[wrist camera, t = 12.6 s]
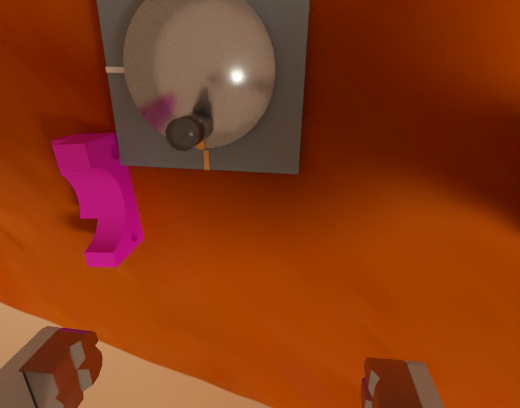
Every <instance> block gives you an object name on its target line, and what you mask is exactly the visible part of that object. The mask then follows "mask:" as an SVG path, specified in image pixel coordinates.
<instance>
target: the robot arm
mask: <svg viewBox="0 0 520 408" xmlns="http://www.w3.org/2000/svg"><path fill="white" fill-rule="evenodd" d="M97 342H98V338H97V335H96V333H95V332H92V331H85V330H77V329H69V328H59V327H50V326H47V327H45V328H43V329H41V330H40V331H39V332H38V333H37V334H36V335H35V336H34V337H33V338H32V339H31V340H30V341H29V342H28V343H27V344H26V345H25V346H24V347H23V348H22V349H21V350H20V351H19V352H18V353H16V354H15V355H14V356H13V358H11V359H10V360H9V361H8V362H7V363H6V364H5V365H4V366H3V367H2V368H1V369H0V408H77V407H78V406H79V405H80V403H81V402H82V400H83V391H84V390H86V389H87V388H89V387H90V386H92V385H93V384H94V382H95V381H96V379H97V378H98V376H99V373H100V370H101V367H102V354H101V351H100V350H99V349H98V348H97V347H96V346H95V345H96V344H97ZM364 370H365V375H366V376H365V377H364V378H362V383H361V405H362V408H444V406H443V403H442V401H441V399H440V396H439V394H438V392H437V389H436V387H435V385H434V382H433V380H432V378H431V376H430V373H429V371H428V369H427V366H426V365H425V364H424V363H423V362H415V361H402V360H393V359H381V358H369V357H367V358H366V360H365V364H364Z"/></svg>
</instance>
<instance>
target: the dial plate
mask: <svg viewBox="0 0 520 408" xmlns="http://www.w3.org/2000/svg"><path fill="white" fill-rule="evenodd" d="M96 1H97V8H98V15H99V21H100V28H101V35H102V41H103V48H104V55H105V61H106V67H105V68H106V73H107V75H108V81H109V88H110V95H111V101H112V108H113V115H114V121H115V128H116V135H117V141H118V148H119V155H120V161H121V165H126V166H145V167H165V168H184V169H204V170H223V171H243V172H262V173H282V174H298V173H299V158H300V142H301V127H302V111H303V96H304V80H305V65H306V49H307V34H308V19H309V3H310V0H245V1H246V2H247V3H248V4H249V5H250V6H251V7H252V8H253V9H254V10H255V12H256V13H257V15H258V16H259V17H260V19H261V20H262V22H263V23H264V25H265V27H266V29H267V31H268V33H269V36H270V38H271V41H272V45H273V48H274V53H275V60H276V79H275V86H274V91H273V95H272V98H271V100H270V103H269V105H268V107H267V109H266V111H265V113H264V114H263V116H262V117H261V119H260V120H259V121H258V122H257V123H256V125H255V126H254V127H253V128H252V129H251V130H250V131H249V132H247V133H246V134H245V135H244V136H242V137H241V138H239V139H237V140H236V141H234V142H231V143H229V144H227V145H223V146H220V147H214V148H205V149H204V150H200V149H197V148H195V147H193V148H191V149H190V150H188V151H178V150H176V149H174V148H173V147H171V146H170V144H169V143H168V141H167V139H166V137H165V136H164V135H162V134H161V133H160V132H158V131H157V130H156V129H155V128H154V127H153V126H151V125H150V124H149V122H148V121H147V120H146V119H145V118H144V117H143V115H142V114H141V112H140V111H139V110H138V108H137V106H136V104H135V103H134V101H133V99H132V96H131V94H130V92H129V89H128V86H127V82H126V78H125V73H124V63H123V52H124V43H125V37H126V34H127V30H128V27H129V25H130V22H131V20H132V18H133V16H134V14H135V13H136V11H137V10H138V8H139V7H140V5H141V4H142V3H143V2H144V1H145V0H96Z"/></svg>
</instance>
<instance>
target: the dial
mask: <svg viewBox="0 0 520 408" xmlns="http://www.w3.org/2000/svg"><path fill="white" fill-rule="evenodd" d="M123 63H124V73H125V78H126V82H127V86H128V89H129V92H130V94H131V96H132V99H133V101H134V103H135V104H136V106H137V108H138V110H139V111H140V112H141V114H142V115H143V117H144V118H145V119H146V120H147V121H148V122H149V124H150V125H151V126H153V127H154V128H155V129H156V130H157V131H158V132H160V133H161V134H162V135H164V136H165V137H166V139H167V141H168V143H169V144H170V146H171V147H173V148H174V149H176V150H178V151H188V150H190V149H191V148H193V147H195V148H197V149H200V150H204V149H205V148H214V147H220V146H223V145H227V144H229V143H231V142H234V141H236V140H237V139H239V138H241V137H242V136H244V135H245V134H246V133H247V132H249V131H250V130H251V129H252V128H253V127H254V126H255V125H256V123H257V122H258V121H259V120H260V119H261V117H262V116H263V114H264V113H265V111H266V109H267V107H268V105H269V103H270V100H271V98H272V95H273V91H274V86H275V79H276V60H275V53H274V48H273V45H272V41H271V38H270V36H269V33H268V31H267V29H266V27H265V25H264V23H263V22H262V20H261V19H260V17H259V16H258V15H257V13H256V12H255V10H254V9H253V8H252V7H251V6H250V5H249V4H248V3H247V2H246V1H245V0H145V1H144V2H143V3H142V4H141V5H140V7H139V8H138V10H137V11H136V13H135V14H134V16H133V18H132V20H131V22H130V25H129V27H128V30H127V34H126V37H125V43H124V52H123Z"/></svg>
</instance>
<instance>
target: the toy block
mask: <svg viewBox="0 0 520 408" xmlns="http://www.w3.org/2000/svg"><path fill="white" fill-rule="evenodd" d="M51 143H52V148H53V151H54V154H55V158H56V161H57V164H58V168H59V170H60V173H61V175H62V176H64V177H65V178H66V179H67V180H68V181H69V182H70V184H71V185H72V187H73V188H74V190H75V192H76V195H77V197H78V201H79V206H80V219H98V222H97V228H96V232H95V235H94V238H93V240H92V242H91V244H90V245H89V247H88V248H87V250H86V251H85V252H84V254H85V257H86V260H87V264H88V267H118V265H119V264H120V263H121V262H122V261H123V260H124V259H125V258H126V257H127V256H128V255H129V254H130V253H131V252H132V251H133V250H134V249H135V248H136V247H137V246H138V245H139V243H140V242H141V241H142V240H143V239H144V237H143V232H142V227H141V223H140V218H139V214H138V209H137V204H136V200H135V195H134V191H133V186H132V182H131V177H130V172H129V168H128V166H126V165H121V161H120V155H119V148H118V141H117V135H116V132H108V133H86V134H73V135H69V136H66V137H62V138H58V139H54V140H51Z"/></svg>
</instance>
